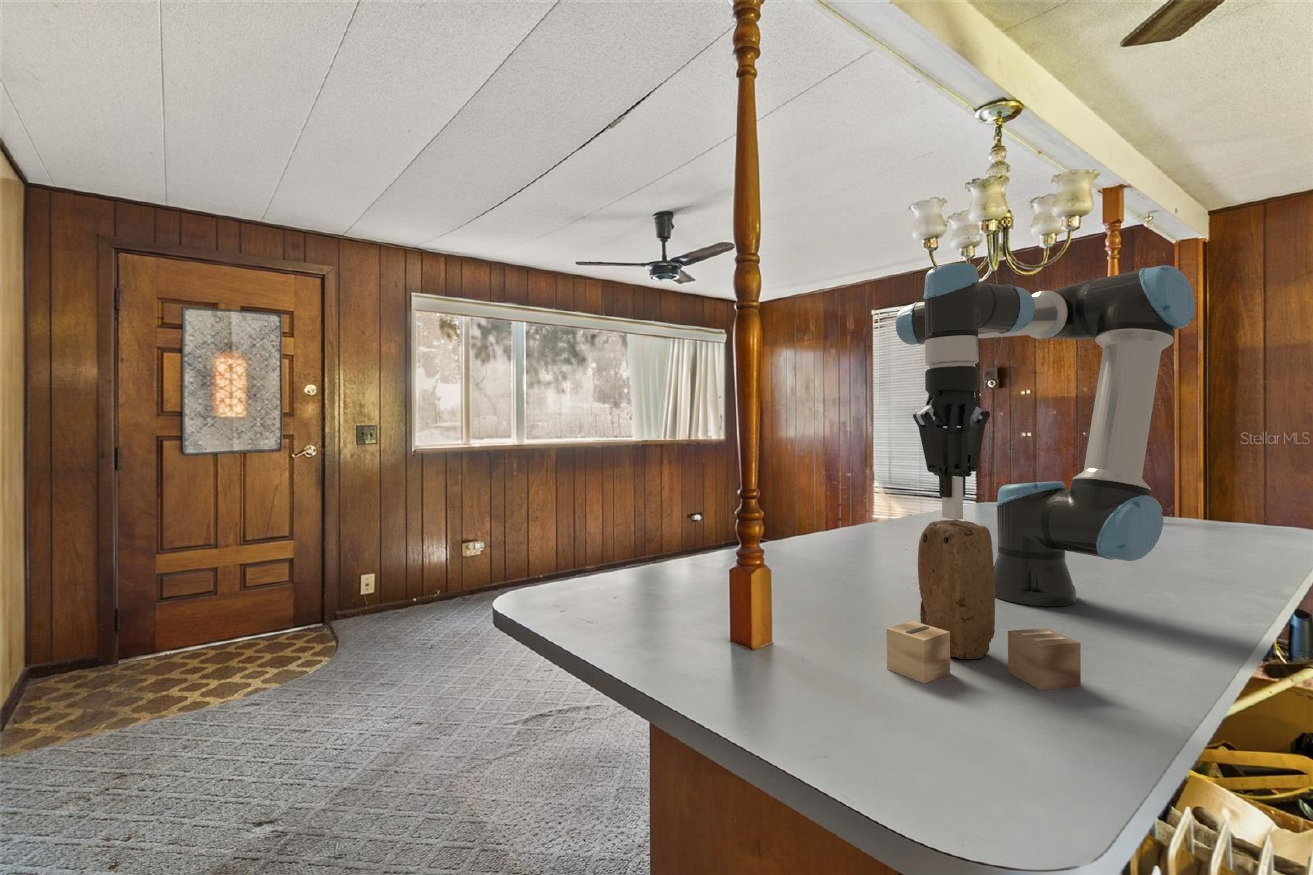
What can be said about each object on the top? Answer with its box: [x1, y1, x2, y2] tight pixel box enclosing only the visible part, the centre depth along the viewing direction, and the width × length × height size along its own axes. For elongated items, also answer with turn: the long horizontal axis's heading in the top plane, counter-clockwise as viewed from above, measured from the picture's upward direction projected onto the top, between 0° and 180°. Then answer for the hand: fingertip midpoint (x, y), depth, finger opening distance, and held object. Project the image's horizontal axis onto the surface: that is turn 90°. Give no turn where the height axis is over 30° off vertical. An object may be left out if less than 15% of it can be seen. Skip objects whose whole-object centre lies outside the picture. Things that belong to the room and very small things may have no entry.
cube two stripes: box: [1007, 627, 1082, 691], centre depth 84 cm, size 6×6×6 cm
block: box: [917, 519, 996, 660], centre depth 96 cm, size 11×8×20 cm
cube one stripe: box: [886, 620, 951, 684], centre depth 88 cm, size 6×6×6 cm
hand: (952, 518), depth 95 cm, fingers closed
